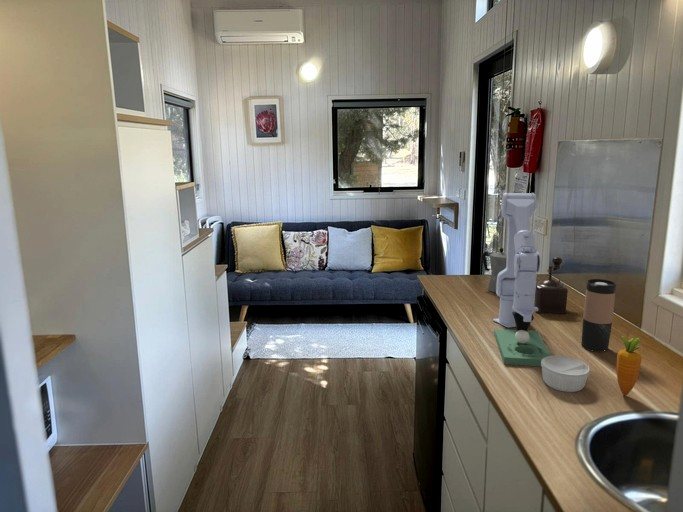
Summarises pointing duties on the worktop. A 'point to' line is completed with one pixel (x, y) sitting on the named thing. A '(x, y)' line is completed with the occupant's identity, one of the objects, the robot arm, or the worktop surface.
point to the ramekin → (564, 373)
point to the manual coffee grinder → (551, 293)
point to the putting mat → (521, 348)
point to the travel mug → (598, 314)
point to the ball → (522, 336)
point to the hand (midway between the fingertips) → (521, 336)
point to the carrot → (628, 365)
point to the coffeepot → (495, 266)
